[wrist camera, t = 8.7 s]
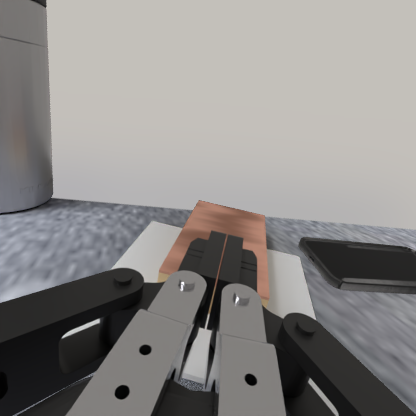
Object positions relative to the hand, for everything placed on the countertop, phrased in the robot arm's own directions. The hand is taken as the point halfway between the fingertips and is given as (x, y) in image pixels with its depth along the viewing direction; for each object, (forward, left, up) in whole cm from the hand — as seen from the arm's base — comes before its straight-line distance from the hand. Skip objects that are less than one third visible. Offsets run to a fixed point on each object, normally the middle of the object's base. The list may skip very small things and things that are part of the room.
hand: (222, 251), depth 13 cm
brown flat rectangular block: (0, +3, -5) cm, 6 cm away
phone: (+16, +16, -8) cm, 24 cm away
